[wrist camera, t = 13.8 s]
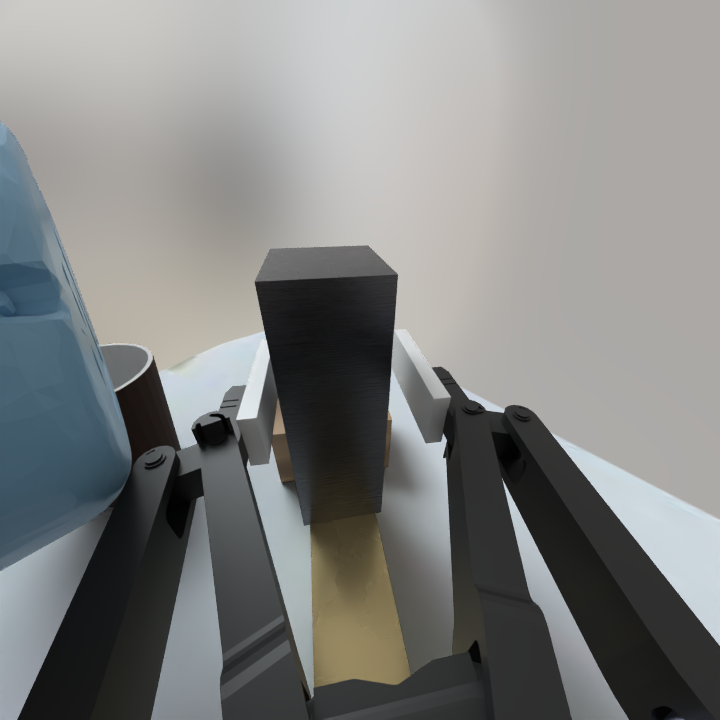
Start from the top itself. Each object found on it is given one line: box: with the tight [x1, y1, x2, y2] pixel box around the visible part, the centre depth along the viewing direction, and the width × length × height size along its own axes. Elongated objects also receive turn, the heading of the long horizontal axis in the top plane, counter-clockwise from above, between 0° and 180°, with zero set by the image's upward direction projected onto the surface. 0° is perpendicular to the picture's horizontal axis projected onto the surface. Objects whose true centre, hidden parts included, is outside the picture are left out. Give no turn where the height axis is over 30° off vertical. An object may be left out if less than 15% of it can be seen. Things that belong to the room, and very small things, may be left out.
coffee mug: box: [99, 343, 181, 507], centre depth 22 cm, size 12×9×10 cm
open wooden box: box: [272, 399, 392, 482], centre depth 25 cm, size 6×9×6 cm, turn 100°
